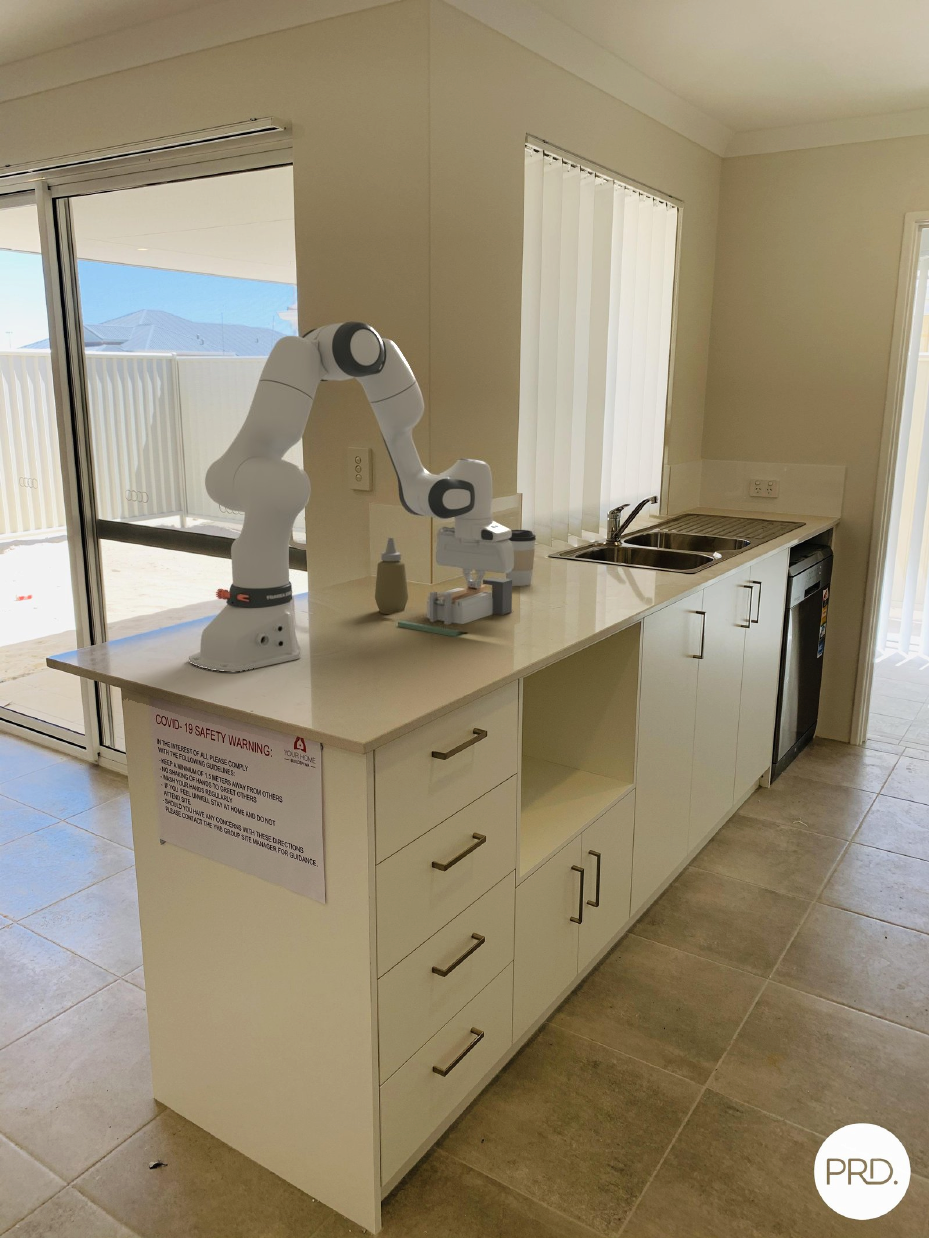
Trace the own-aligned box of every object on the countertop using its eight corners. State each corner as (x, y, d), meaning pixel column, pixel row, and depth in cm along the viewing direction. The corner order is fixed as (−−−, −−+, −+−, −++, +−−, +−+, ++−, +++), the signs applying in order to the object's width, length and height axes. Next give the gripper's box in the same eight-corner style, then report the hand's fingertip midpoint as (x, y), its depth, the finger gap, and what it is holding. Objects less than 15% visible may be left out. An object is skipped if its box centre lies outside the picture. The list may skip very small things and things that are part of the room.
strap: (443, 606, 210) (443, 600, 209) (434, 605, 211) (434, 599, 211) (486, 590, 223) (486, 585, 223) (477, 589, 224) (476, 583, 224)
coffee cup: (496, 581, 263) (497, 528, 259) (525, 579, 266) (526, 526, 263) (511, 587, 255) (512, 533, 251) (540, 585, 258) (542, 531, 255)
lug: (502, 615, 219) (503, 582, 217) (482, 611, 222) (482, 579, 220) (511, 612, 222) (512, 579, 220) (491, 608, 225) (492, 576, 223)
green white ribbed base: (455, 636, 203) (455, 602, 201) (397, 626, 212) (397, 593, 210) (518, 614, 224) (519, 583, 222) (464, 605, 233) (464, 575, 231)
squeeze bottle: (368, 613, 224) (367, 538, 220) (386, 607, 231) (385, 534, 227) (397, 617, 220) (396, 541, 216) (414, 610, 227) (414, 537, 223)
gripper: (429, 527, 221) (430, 585, 224) (502, 534, 209) (502, 595, 213) (445, 524, 226) (446, 580, 229) (517, 531, 214) (517, 590, 218)
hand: (473, 587), depth 221 cm, fingers closed, pressing on strap
